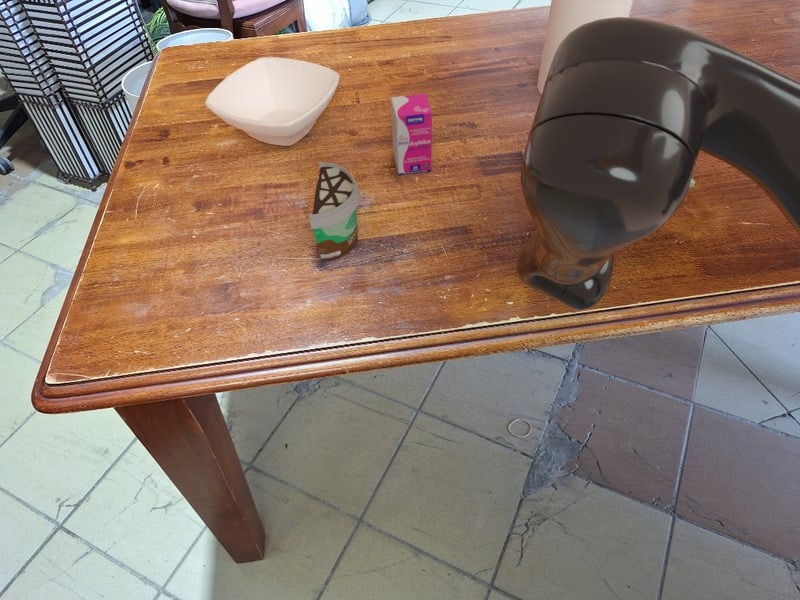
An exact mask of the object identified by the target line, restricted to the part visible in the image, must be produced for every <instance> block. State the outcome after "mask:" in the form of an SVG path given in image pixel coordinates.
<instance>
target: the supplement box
mask: <svg viewBox="0 0 800 600" xmlns="http://www.w3.org/2000/svg"><path fill="white" fill-rule="evenodd" d="M390 108H391V109H390V110H391V132H392V133H391V134H392V152H393V160H394V164H395V167H396V172H397V175H398V176H404V175H409V174H411V175H412V174H418V173H429V172H431V171H432V146H433V144H432V143H433V142H432V141H433V140H432V139H433V111H432V108H431V106H430V103H429V100H428V97H427V94H426V93H418V94H408V95H400V96H391V97H390Z"/></svg>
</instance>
